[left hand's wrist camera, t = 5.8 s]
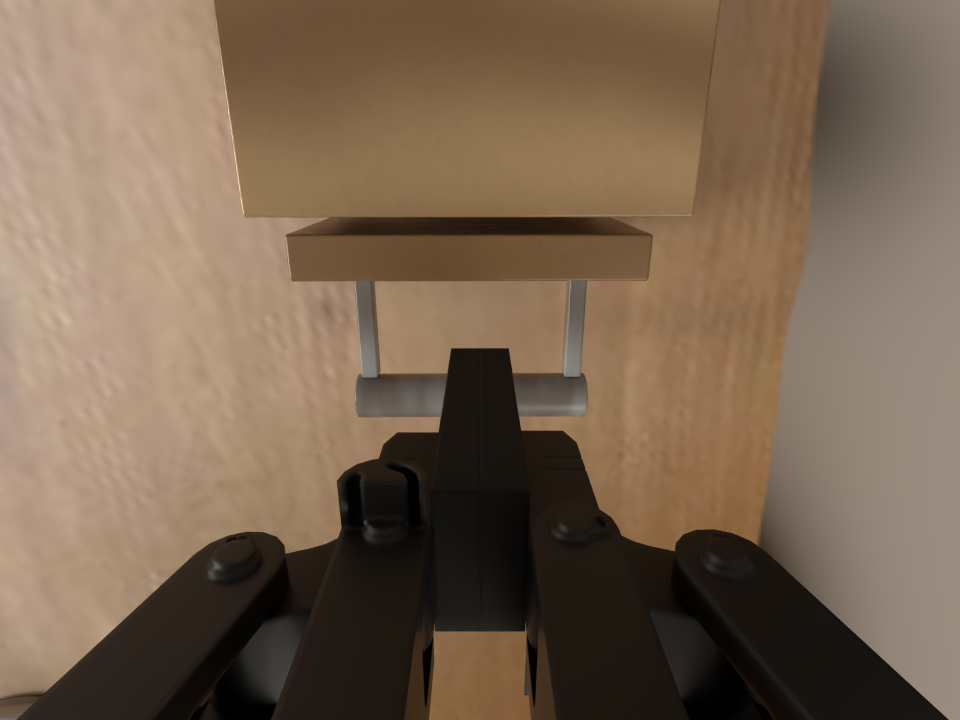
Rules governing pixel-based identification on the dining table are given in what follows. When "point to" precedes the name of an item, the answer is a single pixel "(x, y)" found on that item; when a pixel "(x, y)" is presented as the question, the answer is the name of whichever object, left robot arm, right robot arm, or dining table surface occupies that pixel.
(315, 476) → the dining table surface
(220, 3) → the cabinet
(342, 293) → the dining table surface
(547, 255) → the drawer
